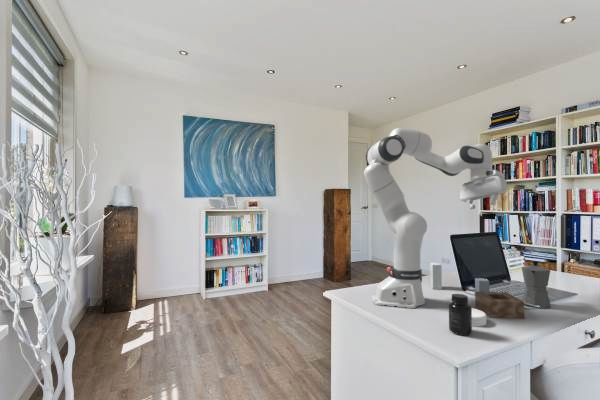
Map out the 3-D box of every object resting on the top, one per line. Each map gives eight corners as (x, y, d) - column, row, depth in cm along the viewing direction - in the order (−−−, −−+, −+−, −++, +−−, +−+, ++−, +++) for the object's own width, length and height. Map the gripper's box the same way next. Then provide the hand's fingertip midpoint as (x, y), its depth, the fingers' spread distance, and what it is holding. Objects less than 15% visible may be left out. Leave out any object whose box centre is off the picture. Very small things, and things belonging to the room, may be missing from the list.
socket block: (489, 317, 113) (488, 301, 113) (475, 306, 125) (475, 291, 125) (524, 318, 111) (524, 302, 111) (507, 307, 123) (506, 292, 123)
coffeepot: (549, 312, 117) (548, 265, 117) (519, 306, 124) (518, 262, 124) (552, 302, 128) (552, 259, 128) (525, 297, 135) (524, 256, 135)
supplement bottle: (476, 335, 98) (476, 298, 98) (456, 336, 98) (456, 299, 98) (463, 326, 105) (463, 292, 105) (444, 327, 104) (444, 292, 104)
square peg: (479, 301, 130) (479, 280, 130) (475, 298, 134) (475, 278, 134) (489, 302, 130) (489, 280, 130) (485, 299, 134) (484, 278, 134)
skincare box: (442, 289, 148) (441, 265, 148) (432, 289, 149) (432, 264, 149) (439, 286, 154) (438, 262, 154) (430, 285, 155) (429, 262, 155)
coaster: (458, 325, 107) (458, 315, 107) (452, 315, 116) (452, 306, 116) (490, 328, 104) (490, 318, 104) (481, 317, 114) (481, 308, 114)
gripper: (456, 182, 147) (456, 209, 142) (499, 169, 129) (500, 199, 124) (465, 186, 149) (465, 212, 145) (508, 173, 131) (510, 204, 127)
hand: (482, 206), depth 134 cm, fingers open, 8 cm apart
